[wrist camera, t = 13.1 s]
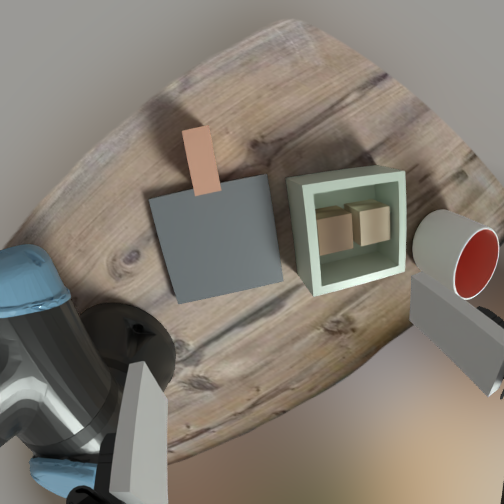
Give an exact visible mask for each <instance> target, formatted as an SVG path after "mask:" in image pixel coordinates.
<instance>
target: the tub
mask: <svg viewBox="0 0 504 504" xmlns="http://www.w3.org/2000/svg"><path fill="white" fill-rule="evenodd" d="M285 179H286V186H287V193H288V201H289V208H290V216H291V224H292V232H293V240H294V248H295V257H296V266H297V274H298V276H299V277H300V278H301V280H302V281H303V283H304V284H305V286H306V287H307V288H308V290H309V291H310V293H311V294H312V296H313V297H315V296H319V295H322V294H326V293H330V292H334V291H338V290H341V289H345V288H349V287H353V286H356V285H360V284H363V283H367V282H370V281H374V280H377V279H381V278H384V277H388V276H391V275H395V274H398V273H401V272H405V257H406V181H405V171H403V170H399V169H394V168H389V167H384V166H379V165H372V166H364V167H356V168H348V169H341V170H333V171H326V172H319V173H312V174H306V175H299V176H293V177H287V178H285ZM369 199H374V200H376V201H379V202H381V203H384V204H386V205H388V206H390V240H386V241H382V242H378V243H374V244H369V245H365V246H360V245H359V244H357V243H356V242H354V241H353V248H352V249H348V250H344V251H339V252H335V253H331V254H326V255H322V256H320V255H319V246H318V235H317V225H316V215H315V209H318V208H324V207H329V206H335V205H337V206H339V207H341V208H343V209H344V204H346V203H352V202H358V201H363V200H369Z"/></svg>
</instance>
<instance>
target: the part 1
mask: <svg viewBox="0 0 504 504" xmlns="http://www.w3.org/2000/svg"><path fill="white" fill-rule="evenodd" d="M315 215H316V225H317V235H318V246H319V255H320V256H322V255H326V254H331V253H335V252H339V251H344V250H348V249H352V248H353V229H352V213H350V212H348V211H346V210H344V209H343V208H341V207H339V206H337V205H335V206H329V207H324V208H318V209H315Z"/></svg>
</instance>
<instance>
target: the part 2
mask: <svg viewBox="0 0 504 504" xmlns="http://www.w3.org/2000/svg"><path fill="white" fill-rule="evenodd" d="M344 210H346V211H348V212H350V213H352V229H353V241H354V242H356V243H357V244H359V245H360V246H365V245H369V244H374V243H378V242H382V241H386V240H390V206H388V205H386V204H384V203H381V202H379V201H376V200H374V199H369V200H363V201H358V202H352V203H346V204H344Z"/></svg>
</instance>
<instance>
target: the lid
mask: <svg viewBox="0 0 504 504" xmlns="http://www.w3.org/2000/svg"><path fill="white" fill-rule="evenodd" d="M182 135H183V140H184V145H185V150H186V155H187V160H188V165H189V170H190V175H191V179H192V184H193V188H192V189H188V190H183V191H179V192H175V193H171V194H166V195H162V196H158V197H154V198H150V199H149V203H150V207H151V211H152V215H153V219H154V223H155V226H156V230H157V234H158V237H159V241H160V245H161V248H162V252H163V255H164V259H165V262H166V266H167V269H168V272H169V276H170V279H171V282H172V285H173V289H174V292H175V295H176V298H177V301H178V304H182V303H187V302H192V301H197V300H201V299H206V298H211V297H215V296H220V295H225V294H229V293H234V292H238V291H243V290H247V289H252V288H256V287H260V286H265V285H269V284H273V283H278V282H282V281H283V275H282V268H281V261H280V254H279V247H278V241H277V234H276V227H275V221H274V214H273V208H272V201H271V195H270V189H269V183H268V176H267V174H261V175H256V176H250V177H245V178H240V179H235V180H230V181H225V182H220V181H219V175H218V170H217V165H216V160H215V155H214V150H213V144H212V139H211V134H210V128H209V125H207V126H202V127H197V128H193V129H188V130H184V131H182Z"/></svg>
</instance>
